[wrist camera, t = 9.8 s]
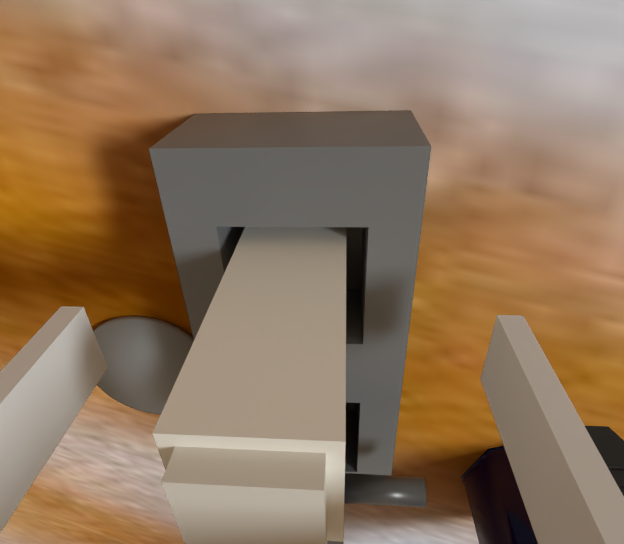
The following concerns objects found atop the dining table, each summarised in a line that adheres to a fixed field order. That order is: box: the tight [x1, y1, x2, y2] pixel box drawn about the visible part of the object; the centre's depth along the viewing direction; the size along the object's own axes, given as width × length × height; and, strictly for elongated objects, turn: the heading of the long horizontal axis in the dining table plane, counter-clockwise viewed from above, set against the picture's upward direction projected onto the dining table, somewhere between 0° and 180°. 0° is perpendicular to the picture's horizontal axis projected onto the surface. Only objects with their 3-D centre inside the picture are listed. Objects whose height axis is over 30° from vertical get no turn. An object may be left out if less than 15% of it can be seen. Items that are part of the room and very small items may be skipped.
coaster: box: [93, 316, 194, 414], centre depth 26 cm, size 8×8×1 cm
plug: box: [152, 227, 346, 544], centre depth 14 cm, size 4×4×13 cm
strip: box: [149, 111, 431, 544], centre depth 19 cm, size 10×20×9 cm, turn 2°
